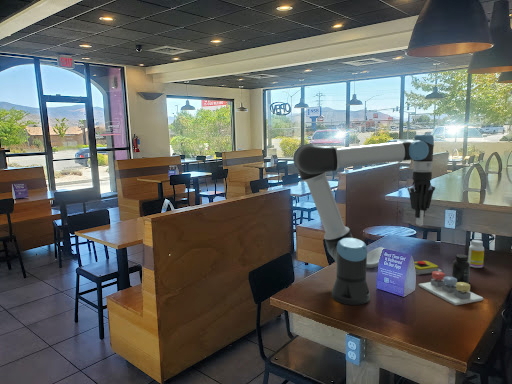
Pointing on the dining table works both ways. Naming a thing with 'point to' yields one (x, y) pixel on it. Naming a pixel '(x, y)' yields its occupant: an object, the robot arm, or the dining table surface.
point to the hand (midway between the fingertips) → (419, 224)
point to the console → (449, 292)
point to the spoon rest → (373, 257)
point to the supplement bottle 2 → (476, 254)
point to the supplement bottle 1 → (461, 268)
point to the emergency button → (425, 267)
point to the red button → (438, 275)
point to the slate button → (450, 281)
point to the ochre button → (463, 287)
